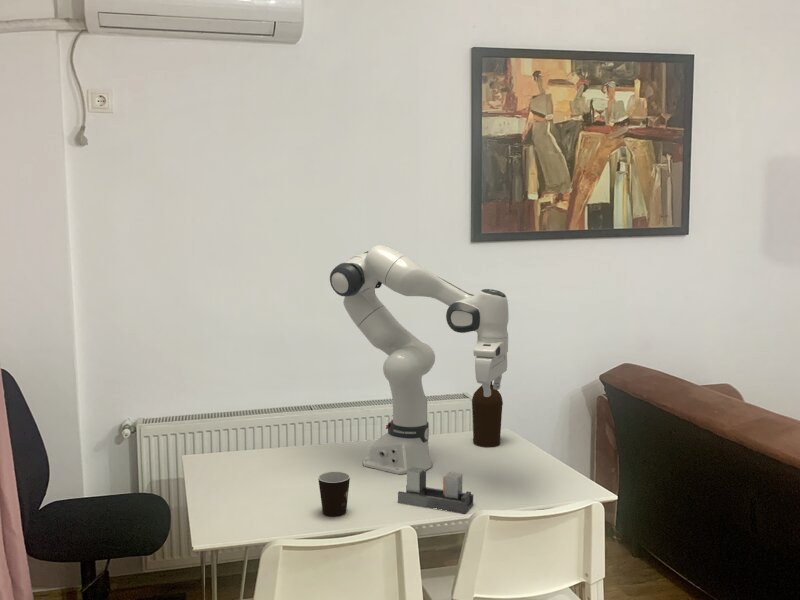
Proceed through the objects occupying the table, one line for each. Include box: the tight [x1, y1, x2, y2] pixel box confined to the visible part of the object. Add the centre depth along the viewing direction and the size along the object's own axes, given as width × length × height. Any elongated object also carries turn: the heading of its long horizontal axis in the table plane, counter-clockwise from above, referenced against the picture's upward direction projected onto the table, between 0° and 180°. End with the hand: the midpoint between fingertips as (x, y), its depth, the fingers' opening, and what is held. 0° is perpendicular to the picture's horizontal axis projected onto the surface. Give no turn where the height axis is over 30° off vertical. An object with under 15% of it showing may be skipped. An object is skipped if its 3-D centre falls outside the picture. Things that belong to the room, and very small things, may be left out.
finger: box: [442, 471, 463, 501], centre depth 213 cm, size 4×4×8 cm
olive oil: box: [471, 381, 504, 448], centre depth 269 cm, size 11×11×25 cm
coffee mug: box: [317, 471, 351, 518], centre depth 210 cm, size 12×9×10 cm
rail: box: [397, 467, 474, 515], centre depth 215 cm, size 20×7×9 cm, turn 67°
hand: (492, 392), depth 223 cm, fingers open, 8 cm apart
